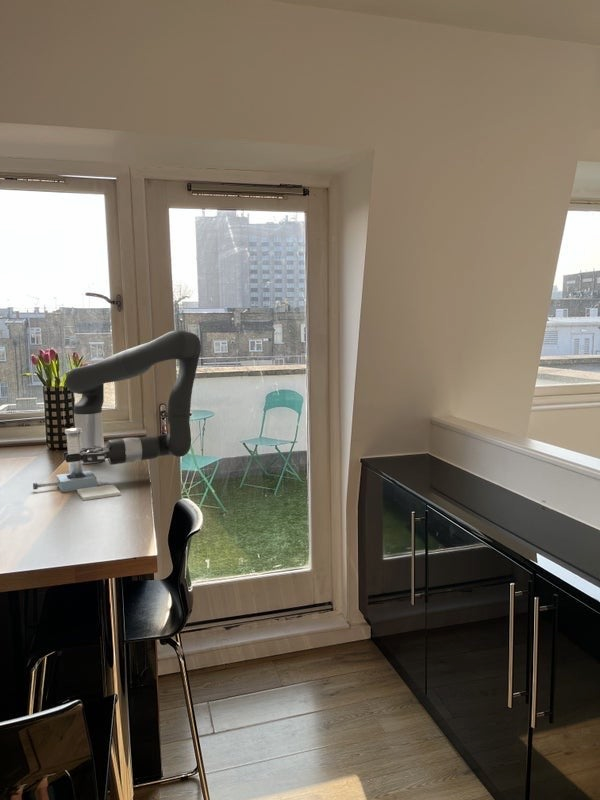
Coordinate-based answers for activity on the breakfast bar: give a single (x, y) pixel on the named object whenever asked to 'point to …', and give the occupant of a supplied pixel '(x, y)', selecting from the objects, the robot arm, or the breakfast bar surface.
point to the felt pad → (98, 492)
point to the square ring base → (71, 482)
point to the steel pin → (74, 451)
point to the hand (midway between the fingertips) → (65, 457)
